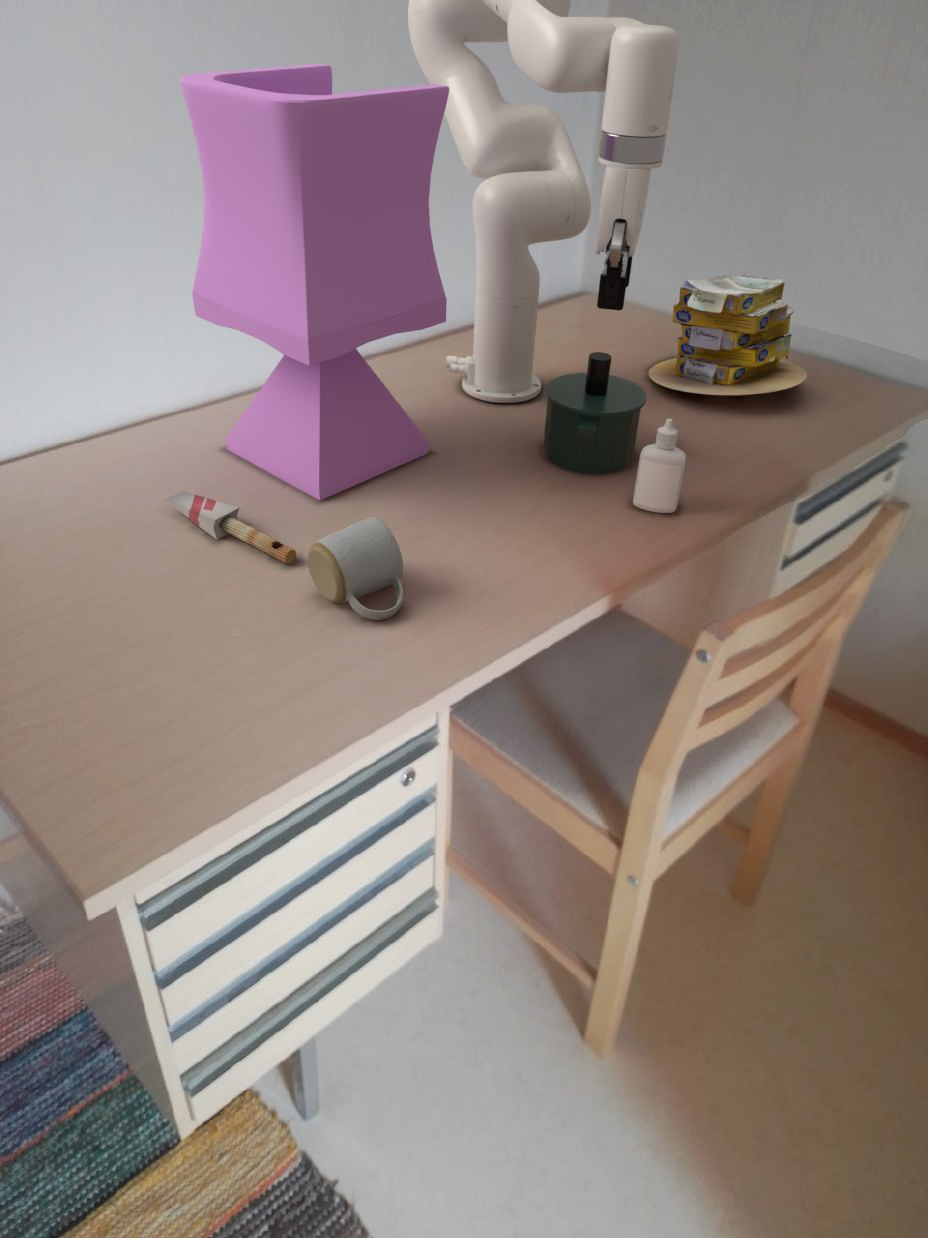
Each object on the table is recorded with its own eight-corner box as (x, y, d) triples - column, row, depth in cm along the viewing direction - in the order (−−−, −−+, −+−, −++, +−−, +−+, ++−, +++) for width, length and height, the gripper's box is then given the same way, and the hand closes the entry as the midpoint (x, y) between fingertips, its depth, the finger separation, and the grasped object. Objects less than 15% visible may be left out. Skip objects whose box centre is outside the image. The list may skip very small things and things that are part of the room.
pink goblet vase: (442, 453, 133) (452, 85, 106) (318, 508, 119) (293, 103, 92) (336, 404, 144) (321, 62, 118) (212, 449, 131) (163, 75, 104)
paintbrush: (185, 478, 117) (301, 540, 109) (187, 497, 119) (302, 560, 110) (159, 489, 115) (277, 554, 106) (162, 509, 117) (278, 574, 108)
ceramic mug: (304, 587, 105) (300, 527, 100) (365, 562, 109) (364, 504, 105) (360, 635, 99) (358, 573, 94) (422, 607, 103) (424, 547, 98)
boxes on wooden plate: (618, 371, 160) (632, 269, 150) (724, 346, 171) (744, 250, 161) (723, 427, 143) (746, 316, 133) (833, 396, 154) (862, 292, 144)
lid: (537, 413, 125) (542, 368, 122) (552, 375, 136) (556, 333, 133) (641, 426, 123) (648, 381, 120) (647, 387, 134) (654, 344, 131)
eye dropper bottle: (661, 520, 120) (677, 432, 113) (626, 503, 123) (640, 416, 116) (682, 509, 122) (699, 422, 115) (647, 492, 125) (661, 407, 118)
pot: (534, 475, 128) (539, 416, 123) (552, 421, 143) (558, 366, 138) (628, 488, 126) (637, 429, 121) (637, 431, 141) (645, 376, 136)
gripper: (606, 134, 119) (590, 275, 129) (592, 160, 105) (576, 315, 115) (666, 139, 118) (646, 280, 128) (660, 165, 104) (638, 321, 114)
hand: (613, 296), depth 121 cm, fingers open, 9 cm apart
